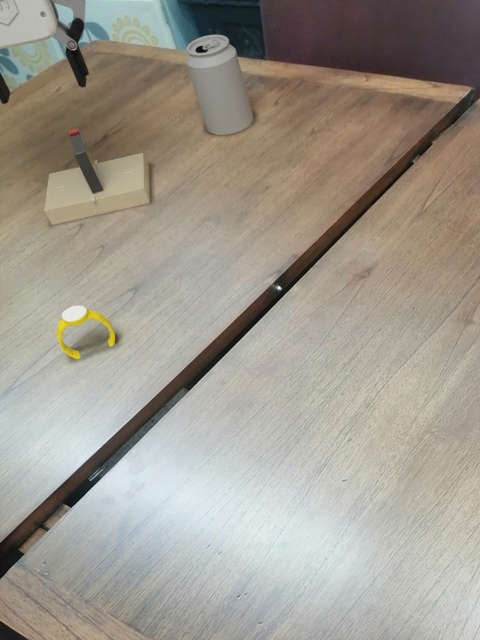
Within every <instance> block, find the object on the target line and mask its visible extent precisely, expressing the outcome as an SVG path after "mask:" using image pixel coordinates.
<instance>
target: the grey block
mask: <svg viewBox="0 0 480 640" xmlns="http://www.w3.org/2000/svg"><path fill="white" fill-rule="evenodd" d="M67 135H68V137H69V142H70V146H71V149H72V152H73V153H72V154H73V157H74V159H75V161H76V162H77V165H78V167H80V169H81V171H82V173H83V175H84V177H85V179H86V181H87V183H88V185H89V187H90V189H91V192H92V193H96V192H100V191H103V186H102V183H101V179H100V176H99V172H98V169H97V166H96V164H95V160H94V158H93V155H92V153H91V151H90V148H89V147H88V145H87V142H86V140H85V138H84V136H83V134H82V132H81V129H79V128H78V127H76V128H73V129H69V130H68V132H67Z"/></svg>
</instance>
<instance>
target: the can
mask: <svg viewBox="0 0 480 640" xmlns="http://www.w3.org/2000/svg"><path fill="white" fill-rule="evenodd" d="M186 53H187V55H186V58H185V64H186V69H187V71H188V74H189V77H190V80H191V83H192V87H193V89H194V90H193V91H194V92H195V96H196V99H197V102H198V105H199V108H200V111H201V115H202V118H203V121H204V124H205V125H204V126H205V128H206V131H208V133H210V134H213V135H216V136H229V135H233V134H237V133H239V132H242V131H244V130H246V129H247V128H249V127H250V126H251V124H253V122H254V113H253V111H252V106H251V103H250V99H249V95H248V92H247V87H246V83H245V80H244V76H243V72H242V68H241V64H240V61H239V57H238V53H237V48H235V47H234V46H233V45H232V44H230V39H229V38H228V36H225V35H223V34H209V35H203V36H200V37H197V38H196V39H194V40H192V41H191V42H189V43H188V44H187V46H186Z"/></svg>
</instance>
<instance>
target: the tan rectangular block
mask: <svg viewBox="0 0 480 640" xmlns="http://www.w3.org/2000/svg"><path fill="white" fill-rule="evenodd" d="M94 162H95V164H96V166H97V169H98V172H99V176H100V179H101V183H102V186H103V191H100V192H96V193H92V192H91V189H90V187H89V185H88V183H87V181H86V179H85V177H84V175H83V173H82V171H81V169H80V167H79V166H78V167H74V168H69V169H66V170H65V169H64V170H61V171H56V172H52V173H48V178H47V185H46V186H47V187H46V193H45V200H44V207H43V212H44V214H45V215H46V217H47V219H48V220H49V222H50V225H51V226H54V225H57V224H63V223H66V222H67V223H68V222H70V221H75V220H76V221H77V220H81V219H84V218H90V217H93V216H98V215H103V214H107V213H111V212H115V211H120V210H124V209H129V208H133V207H136V206H141V205H146V204H150V203H151V190H150V189H151V188H150V166H149V163H148V161H147V159H146V155H145V153H144V152H141V153H137V154H132V155H127V156H123V157H118V158H114V159H113V158H112V159H109V160H105V161H100V162H98V159H95V160H94Z"/></svg>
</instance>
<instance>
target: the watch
mask: <svg viewBox="0 0 480 640" xmlns="http://www.w3.org/2000/svg"><path fill="white" fill-rule="evenodd" d="M61 318H62V319H60V321H58V323H57V327H56V332H55V334H56V339H57V341H58V345H59V347H60V349H61V350H62V352H63V353H65V354H66V355H67V356H68V357H70V358H71V359H74V360H79V359H81V354H80V351H79V350H75V349H72V348H71V347H70V346H69V345H67V344H66V343H65V342H64V340H63V336H64V335H63V334H64V331H65V330H66V328H67V327H76V326H80V325H83V324H84V323H86V322H87V320H93V321H97V322H99V323H101V324H102V325H103V326H105V327H107V329H108V332H109V333H108V339H107V344H108V346H109V347H110V348H111V347H114V346H115V344H116V333H115V330H114V326H113V325H112V324H111V321H110V320H109V319H108V317H106V316H105V315H103V314H102V313H100V312H98V311H95V310H90V309H88V308H87V307H86V306H84V305H73V306H70V307H68V308H66V309H65V310H64V311H63V312H62V313H61Z"/></svg>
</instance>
